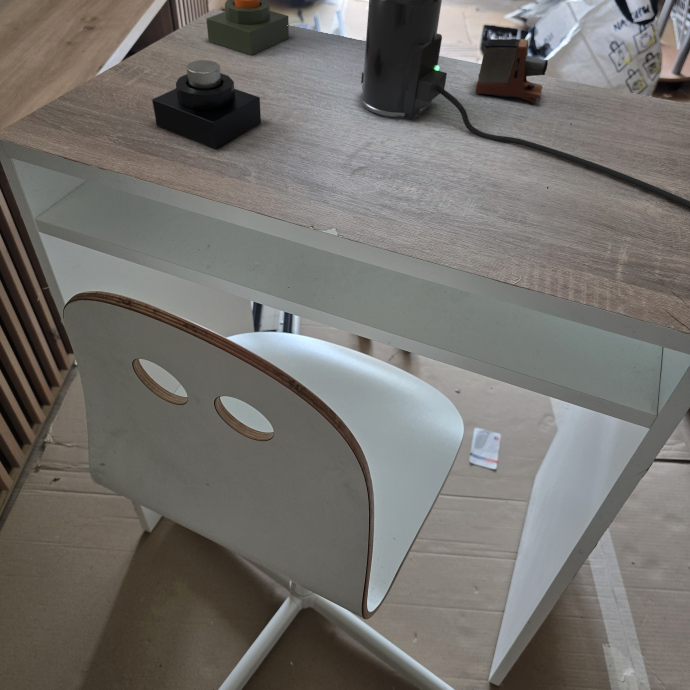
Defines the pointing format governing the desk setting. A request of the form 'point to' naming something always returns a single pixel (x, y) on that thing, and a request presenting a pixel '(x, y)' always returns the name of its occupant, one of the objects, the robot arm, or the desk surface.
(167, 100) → the block near
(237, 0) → the button far
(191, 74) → the button near
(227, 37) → the block far
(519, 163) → the desk surface
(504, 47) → the electronic device
